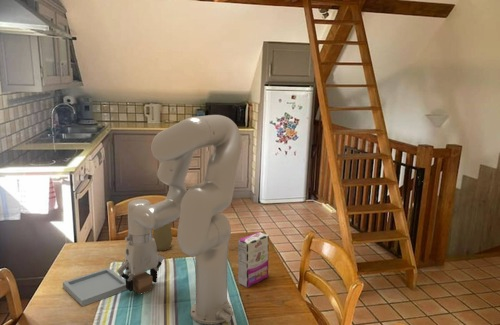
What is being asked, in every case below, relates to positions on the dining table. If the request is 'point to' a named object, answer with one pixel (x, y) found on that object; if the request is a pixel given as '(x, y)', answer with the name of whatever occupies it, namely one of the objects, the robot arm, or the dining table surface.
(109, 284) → the tray
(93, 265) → the dining table surface
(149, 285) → the cube
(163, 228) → the squeeze bottle
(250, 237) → the candy bar box
